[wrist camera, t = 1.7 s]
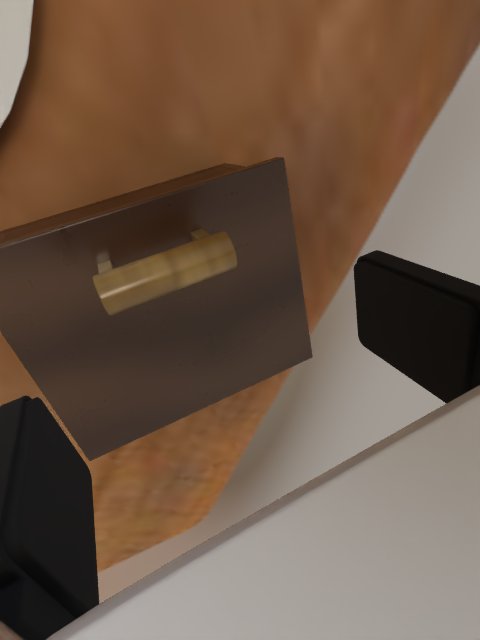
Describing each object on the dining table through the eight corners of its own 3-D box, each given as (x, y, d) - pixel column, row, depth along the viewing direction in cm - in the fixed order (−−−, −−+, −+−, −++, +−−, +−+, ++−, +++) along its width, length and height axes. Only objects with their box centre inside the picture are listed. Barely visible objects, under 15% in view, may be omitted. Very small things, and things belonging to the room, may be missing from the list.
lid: (-44, 256, 16) (-86, 298, 12) (277, 156, 20) (333, 161, 16) (88, 452, 24) (92, 523, 19) (307, 352, 27) (351, 392, 23)
